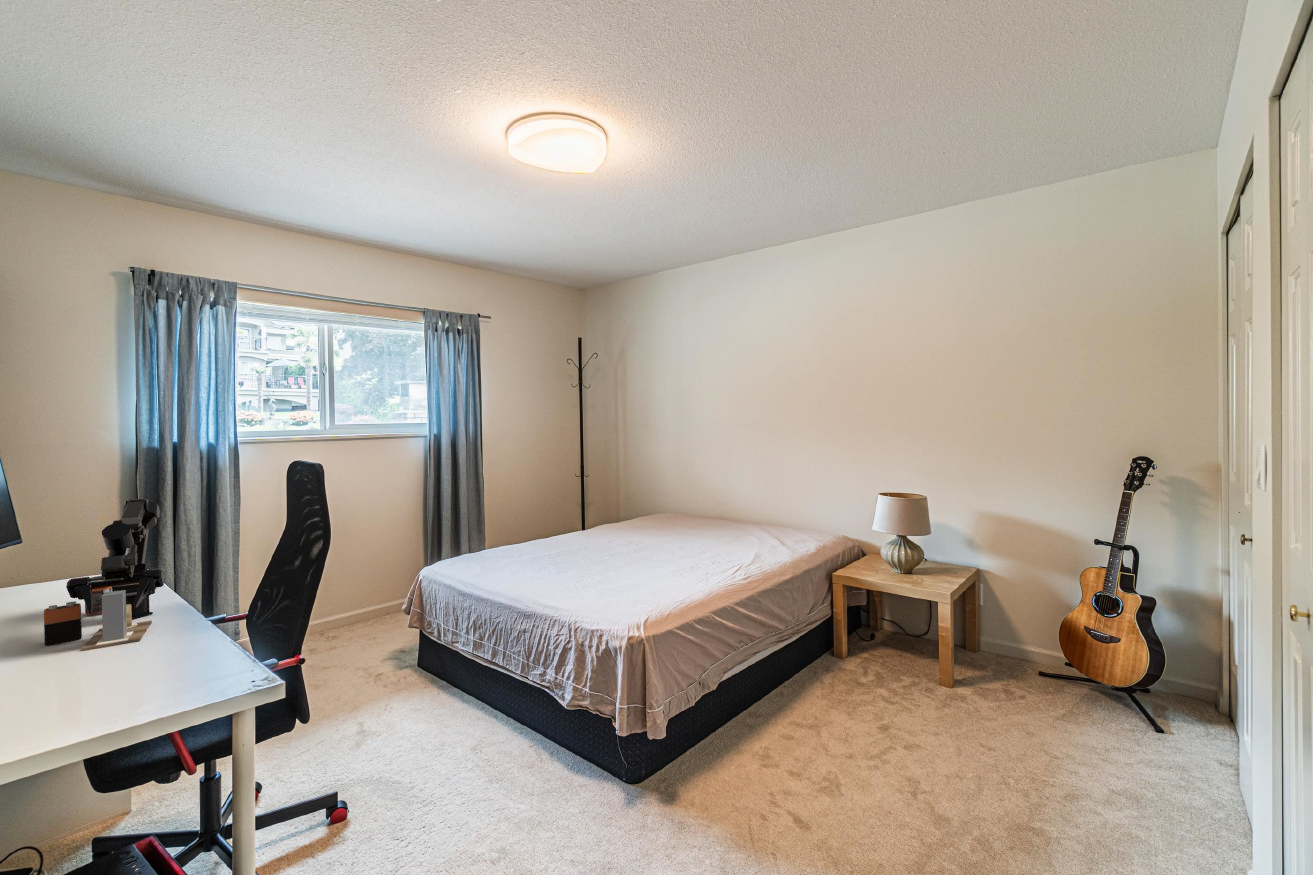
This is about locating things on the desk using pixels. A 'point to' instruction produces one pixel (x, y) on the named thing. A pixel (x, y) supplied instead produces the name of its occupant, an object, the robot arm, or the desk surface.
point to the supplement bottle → (97, 597)
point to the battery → (62, 623)
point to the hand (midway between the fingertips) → (113, 610)
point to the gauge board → (133, 635)
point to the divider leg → (114, 615)
